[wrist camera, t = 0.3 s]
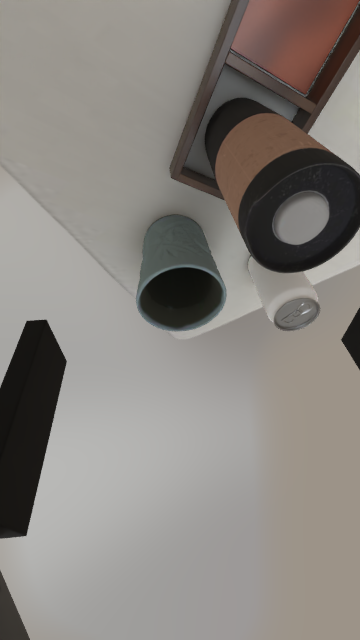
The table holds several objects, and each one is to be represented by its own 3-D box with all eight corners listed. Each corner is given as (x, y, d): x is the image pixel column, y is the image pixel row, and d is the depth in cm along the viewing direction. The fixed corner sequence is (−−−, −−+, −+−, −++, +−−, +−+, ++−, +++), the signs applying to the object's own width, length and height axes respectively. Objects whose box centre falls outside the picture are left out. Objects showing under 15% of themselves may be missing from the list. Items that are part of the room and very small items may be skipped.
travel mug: (282, 143, 33) (382, 232, 19) (225, 187, 36) (275, 292, 22) (250, 73, 29) (351, 125, 15) (188, 131, 32) (222, 219, 18)
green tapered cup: (209, 206, 38) (228, 259, 29) (210, 270, 45) (225, 327, 37) (131, 215, 38) (127, 271, 29) (144, 278, 45) (144, 337, 37)
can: (298, 254, 44) (334, 309, 36) (266, 283, 48) (292, 339, 39) (270, 233, 41) (301, 287, 33) (238, 265, 45) (259, 322, 36)
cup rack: (169, 168, 34) (170, 178, 32) (287, -152, 20) (304, -171, 18) (251, 203, 38) (257, 213, 36) (398, -46, 24) (423, -52, 22)
